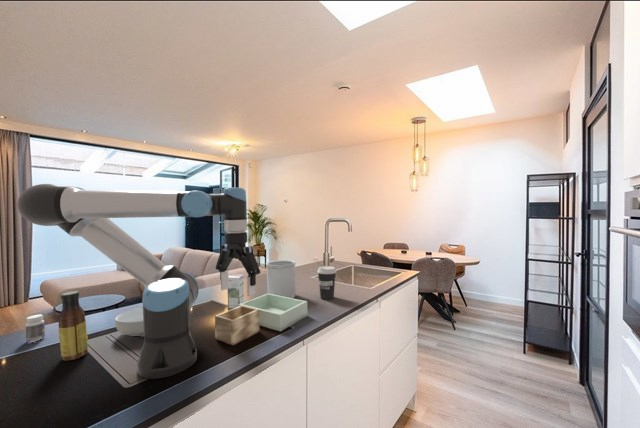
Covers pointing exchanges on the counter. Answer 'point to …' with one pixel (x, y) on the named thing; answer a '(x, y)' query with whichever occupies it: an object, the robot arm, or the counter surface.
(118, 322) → the cereal bowl
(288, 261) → the utensil holder
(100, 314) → the counter surface
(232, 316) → the small wooden crate
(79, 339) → the sauce bottle
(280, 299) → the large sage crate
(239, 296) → the syrup box
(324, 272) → the coffee cup
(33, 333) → the pill bottle
